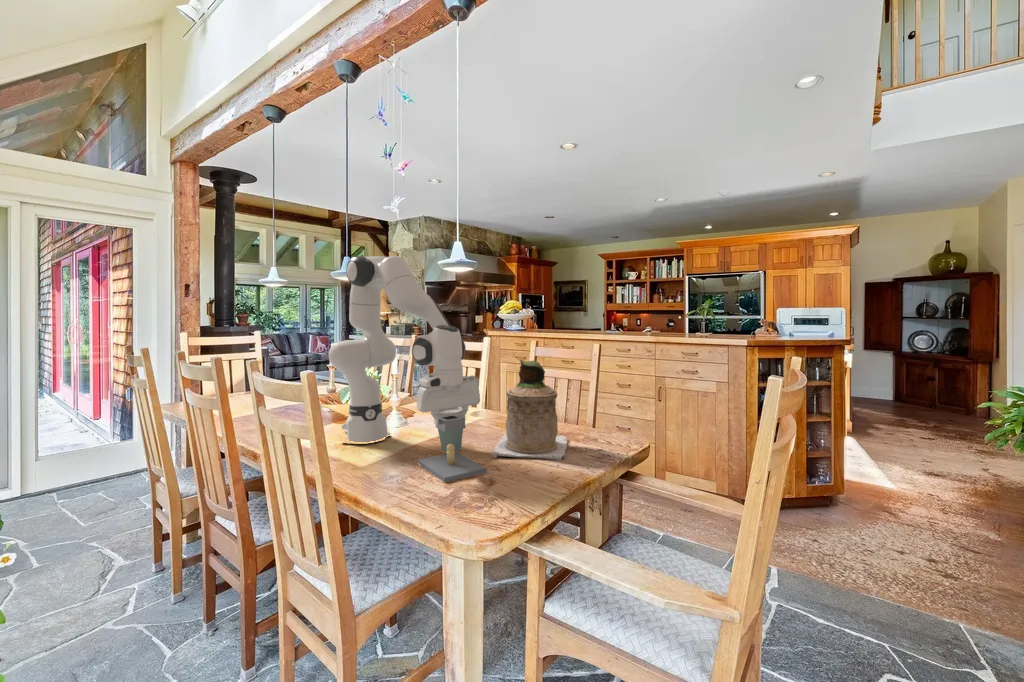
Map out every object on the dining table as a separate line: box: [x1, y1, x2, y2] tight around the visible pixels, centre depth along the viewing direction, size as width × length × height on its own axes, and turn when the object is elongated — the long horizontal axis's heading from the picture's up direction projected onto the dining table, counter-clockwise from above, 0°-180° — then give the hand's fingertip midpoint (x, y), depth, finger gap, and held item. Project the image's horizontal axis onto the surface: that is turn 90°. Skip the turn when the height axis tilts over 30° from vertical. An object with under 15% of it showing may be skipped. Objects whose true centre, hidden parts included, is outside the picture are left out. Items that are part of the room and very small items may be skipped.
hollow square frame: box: [435, 414, 466, 432], centre depth 145 cm, size 7×7×3 cm
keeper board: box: [417, 444, 488, 483], centre depth 146 cm, size 20×14×8 cm
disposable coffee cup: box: [436, 407, 464, 453], centre depth 164 cm, size 11×11×15 cm
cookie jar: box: [491, 358, 568, 461], centre depth 164 cm, size 25×25×32 cm
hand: (450, 422), depth 145 cm, fingers closed on hollow square frame, 7 cm apart
